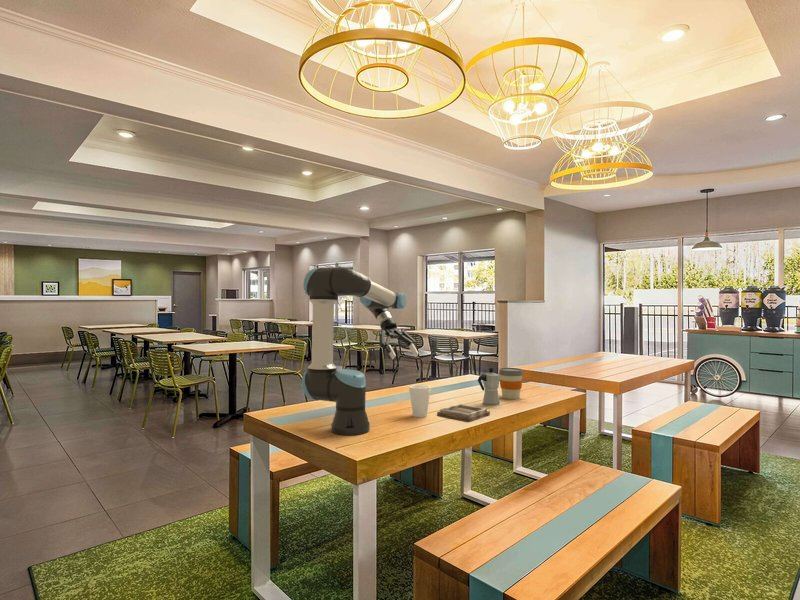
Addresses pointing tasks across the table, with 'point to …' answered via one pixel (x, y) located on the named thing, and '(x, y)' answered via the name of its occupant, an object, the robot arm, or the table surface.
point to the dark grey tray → (463, 412)
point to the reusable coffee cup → (510, 382)
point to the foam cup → (419, 399)
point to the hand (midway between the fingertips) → (405, 356)
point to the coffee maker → (490, 387)
